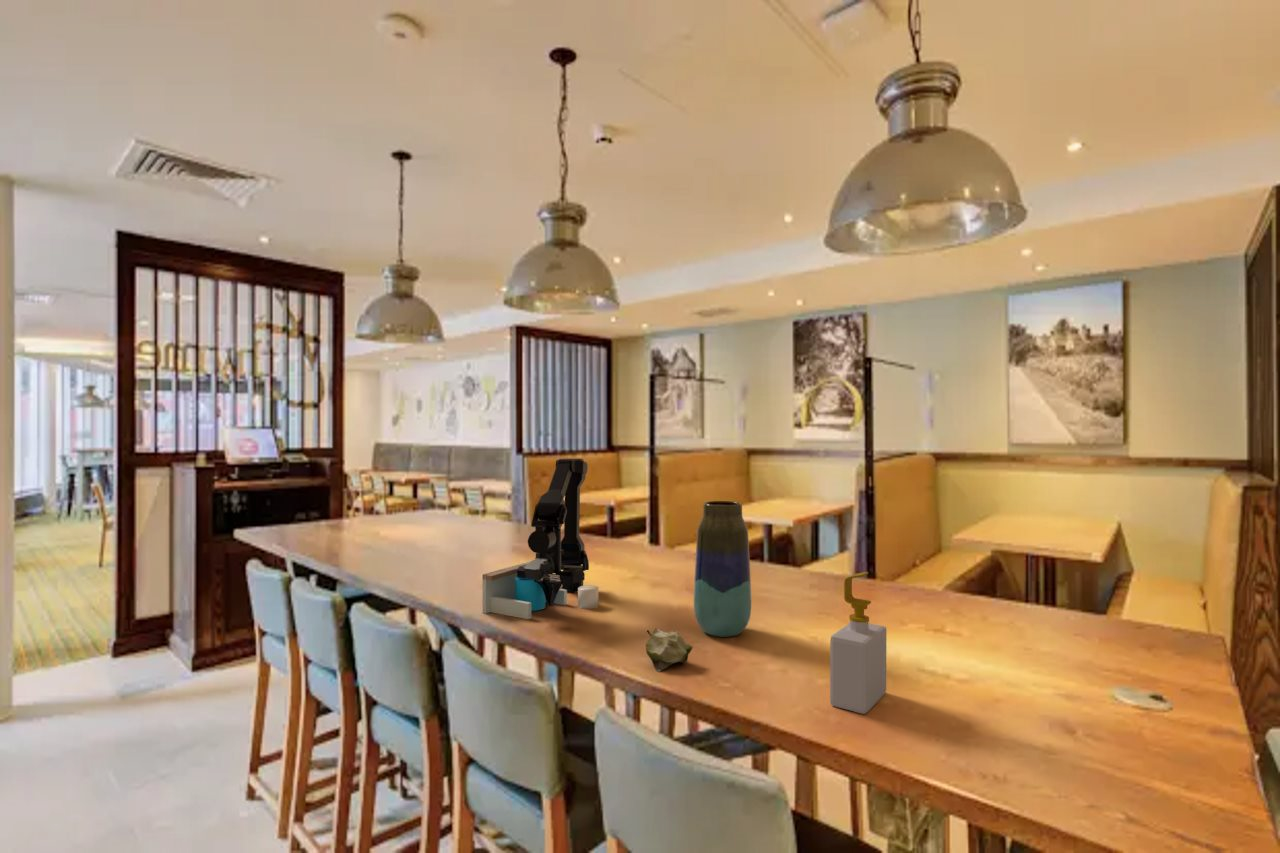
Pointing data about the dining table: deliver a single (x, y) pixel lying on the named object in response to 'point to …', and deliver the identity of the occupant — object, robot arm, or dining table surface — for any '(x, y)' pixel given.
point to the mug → (529, 593)
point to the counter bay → (509, 594)
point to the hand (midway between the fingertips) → (550, 605)
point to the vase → (722, 570)
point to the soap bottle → (857, 658)
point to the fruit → (666, 649)
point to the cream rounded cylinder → (588, 597)
